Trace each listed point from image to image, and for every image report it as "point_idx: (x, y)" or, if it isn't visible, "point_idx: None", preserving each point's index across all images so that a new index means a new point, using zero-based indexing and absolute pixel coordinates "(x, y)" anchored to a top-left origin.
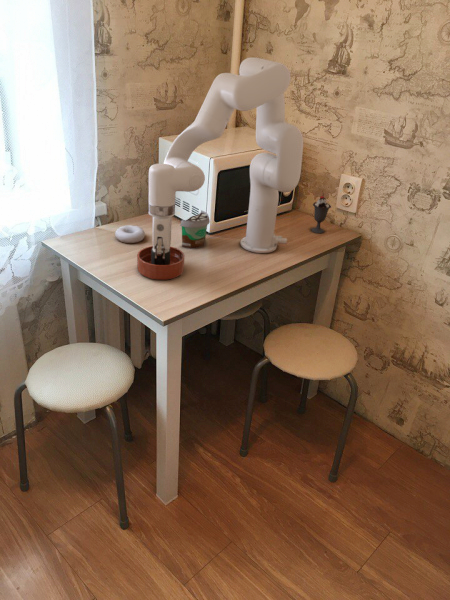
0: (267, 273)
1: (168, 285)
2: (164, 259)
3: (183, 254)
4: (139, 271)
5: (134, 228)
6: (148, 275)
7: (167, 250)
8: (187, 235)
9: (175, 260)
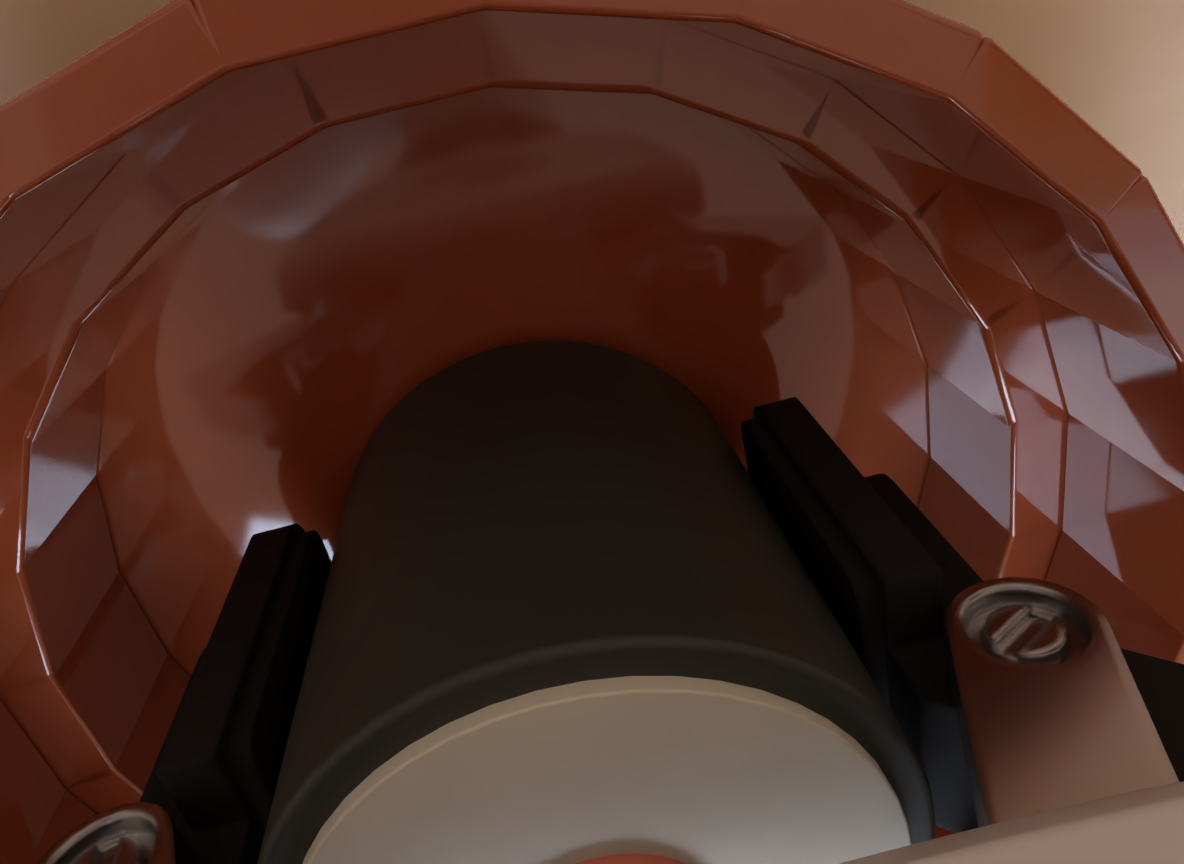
0: None
1: (1141, 146)
2: (930, 574)
3: (138, 65)
4: None
5: None
6: None
7: (628, 738)
8: None
9: (107, 333)
